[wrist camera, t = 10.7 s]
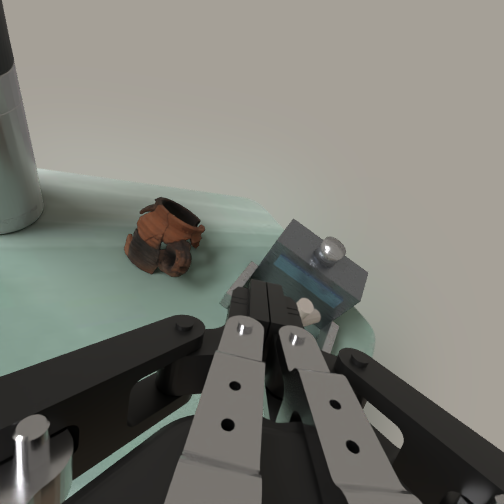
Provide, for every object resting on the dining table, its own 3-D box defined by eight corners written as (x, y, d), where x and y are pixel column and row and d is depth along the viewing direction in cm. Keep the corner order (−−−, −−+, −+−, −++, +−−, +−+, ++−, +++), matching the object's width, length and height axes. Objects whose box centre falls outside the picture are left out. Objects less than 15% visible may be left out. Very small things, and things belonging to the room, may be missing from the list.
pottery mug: (110, 233, 38) (140, 183, 36) (168, 248, 46) (195, 207, 43) (137, 295, 31) (175, 237, 29) (200, 300, 39) (234, 255, 37)
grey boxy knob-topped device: (219, 303, 38) (251, 253, 30) (261, 250, 47) (294, 201, 39) (312, 374, 37) (372, 343, 29) (337, 306, 46) (387, 268, 38)
